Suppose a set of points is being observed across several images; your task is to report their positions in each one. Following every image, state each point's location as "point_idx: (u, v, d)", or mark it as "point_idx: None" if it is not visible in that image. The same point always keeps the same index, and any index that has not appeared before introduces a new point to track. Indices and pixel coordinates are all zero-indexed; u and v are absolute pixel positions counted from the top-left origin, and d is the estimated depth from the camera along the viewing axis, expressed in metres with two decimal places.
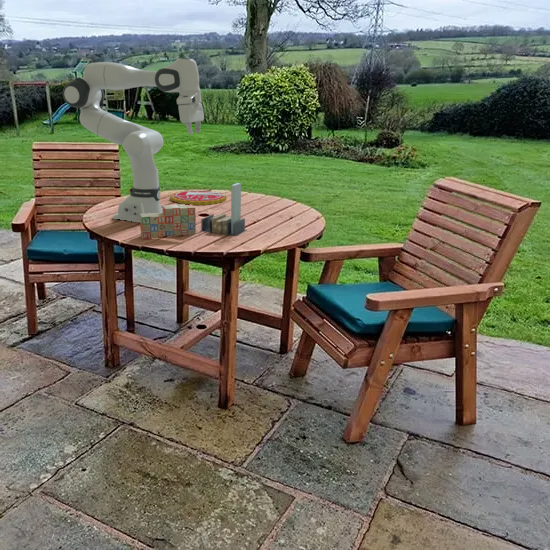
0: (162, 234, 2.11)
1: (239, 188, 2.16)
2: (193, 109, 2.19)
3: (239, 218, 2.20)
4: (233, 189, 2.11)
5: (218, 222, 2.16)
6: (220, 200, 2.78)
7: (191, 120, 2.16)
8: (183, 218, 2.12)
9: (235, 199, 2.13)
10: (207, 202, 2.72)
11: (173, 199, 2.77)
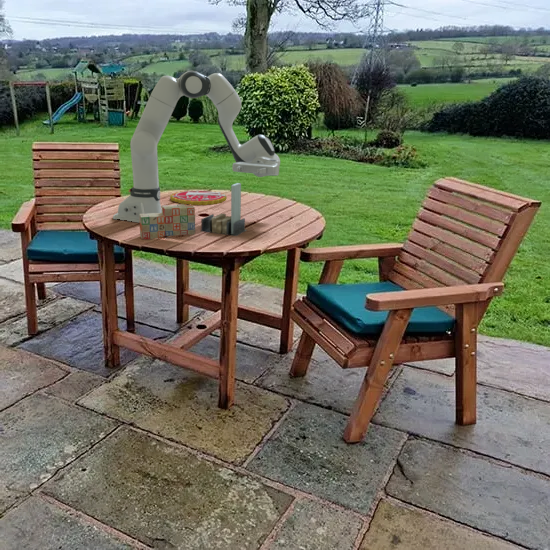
0: (161, 234, 2.11)
1: (239, 188, 2.16)
2: None
3: (239, 218, 2.20)
4: (233, 189, 2.11)
5: (218, 222, 2.16)
6: (220, 200, 2.78)
7: (268, 174, 2.26)
8: (182, 218, 2.12)
9: (235, 199, 2.13)
10: (207, 202, 2.72)
11: (173, 199, 2.77)
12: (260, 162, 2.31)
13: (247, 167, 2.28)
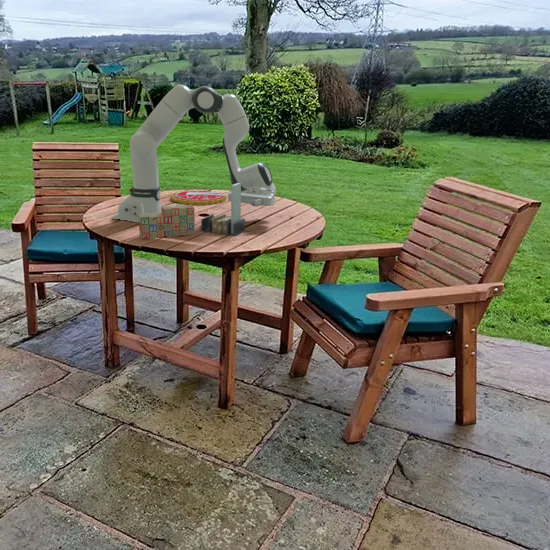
0: (161, 234, 2.11)
1: (239, 188, 2.16)
2: None
3: (239, 218, 2.20)
4: (233, 189, 2.11)
5: (218, 222, 2.16)
6: (220, 200, 2.78)
7: None
8: (182, 218, 2.11)
9: (235, 199, 2.13)
10: (207, 202, 2.72)
11: (173, 199, 2.77)
12: (256, 192, 2.32)
13: (243, 197, 2.29)
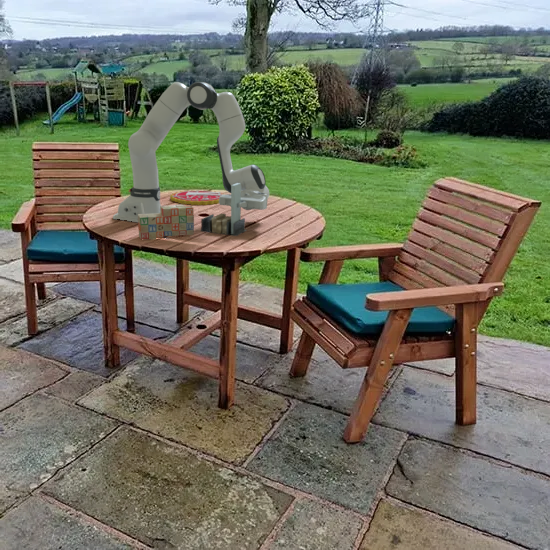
0: (160, 234, 2.10)
1: (239, 188, 2.16)
2: None
3: (239, 218, 2.20)
4: (233, 189, 2.11)
5: (218, 222, 2.16)
6: None
7: (256, 208, 2.19)
8: (181, 218, 2.11)
9: (235, 199, 2.13)
10: (207, 202, 2.72)
11: (173, 199, 2.77)
12: (248, 195, 2.24)
13: None
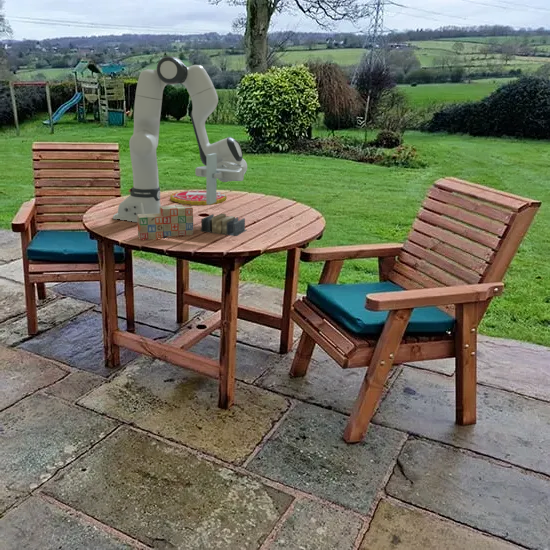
0: (160, 235, 2.10)
1: (215, 159, 2.15)
2: None
3: (215, 189, 2.20)
4: (208, 159, 2.11)
5: (218, 222, 2.16)
6: (220, 200, 2.78)
7: (231, 179, 2.19)
8: (180, 218, 2.11)
9: (210, 169, 2.13)
10: None
11: (173, 199, 2.77)
12: (224, 167, 2.23)
13: None
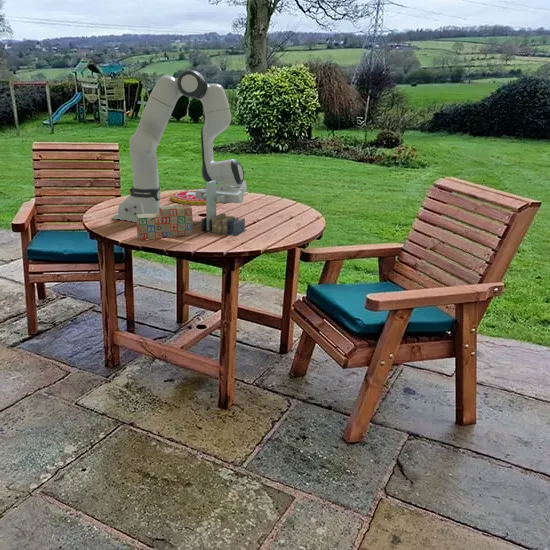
0: (159, 235, 2.10)
1: (215, 186, 2.20)
2: None
3: (215, 215, 2.24)
4: (208, 186, 2.15)
5: (218, 222, 2.16)
6: None
7: (231, 202, 2.22)
8: (180, 218, 2.11)
9: (210, 196, 2.17)
10: None
11: (173, 199, 2.77)
12: (223, 189, 2.27)
13: None
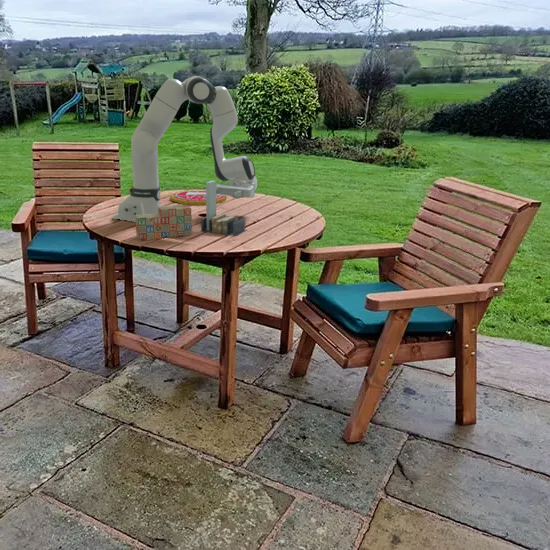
0: (158, 235, 2.09)
1: (215, 186, 2.20)
2: None
3: (215, 215, 2.24)
4: (208, 186, 2.15)
5: (218, 222, 2.16)
6: (220, 200, 2.78)
7: None
8: (179, 218, 2.10)
9: (210, 196, 2.17)
10: None
11: (173, 199, 2.77)
12: (236, 184, 2.38)
13: (223, 189, 2.36)
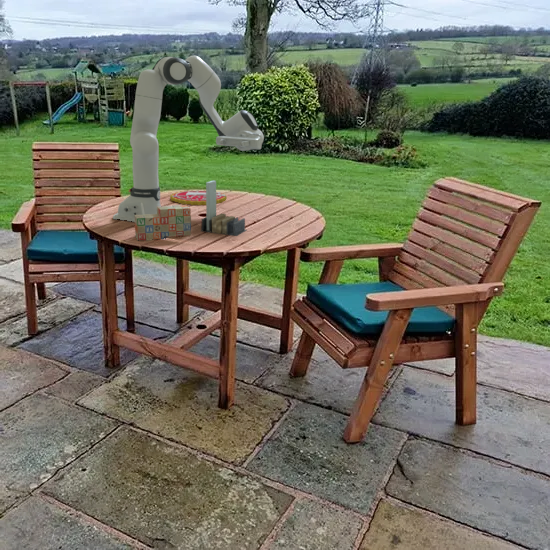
0: (157, 235, 2.09)
1: (215, 186, 2.20)
2: None
3: (215, 215, 2.24)
4: (208, 186, 2.15)
5: (218, 222, 2.16)
6: (220, 200, 2.78)
7: (250, 147, 2.31)
8: (178, 219, 2.10)
9: (210, 196, 2.17)
10: None
11: (173, 199, 2.77)
12: (243, 136, 2.36)
13: (230, 140, 2.34)
